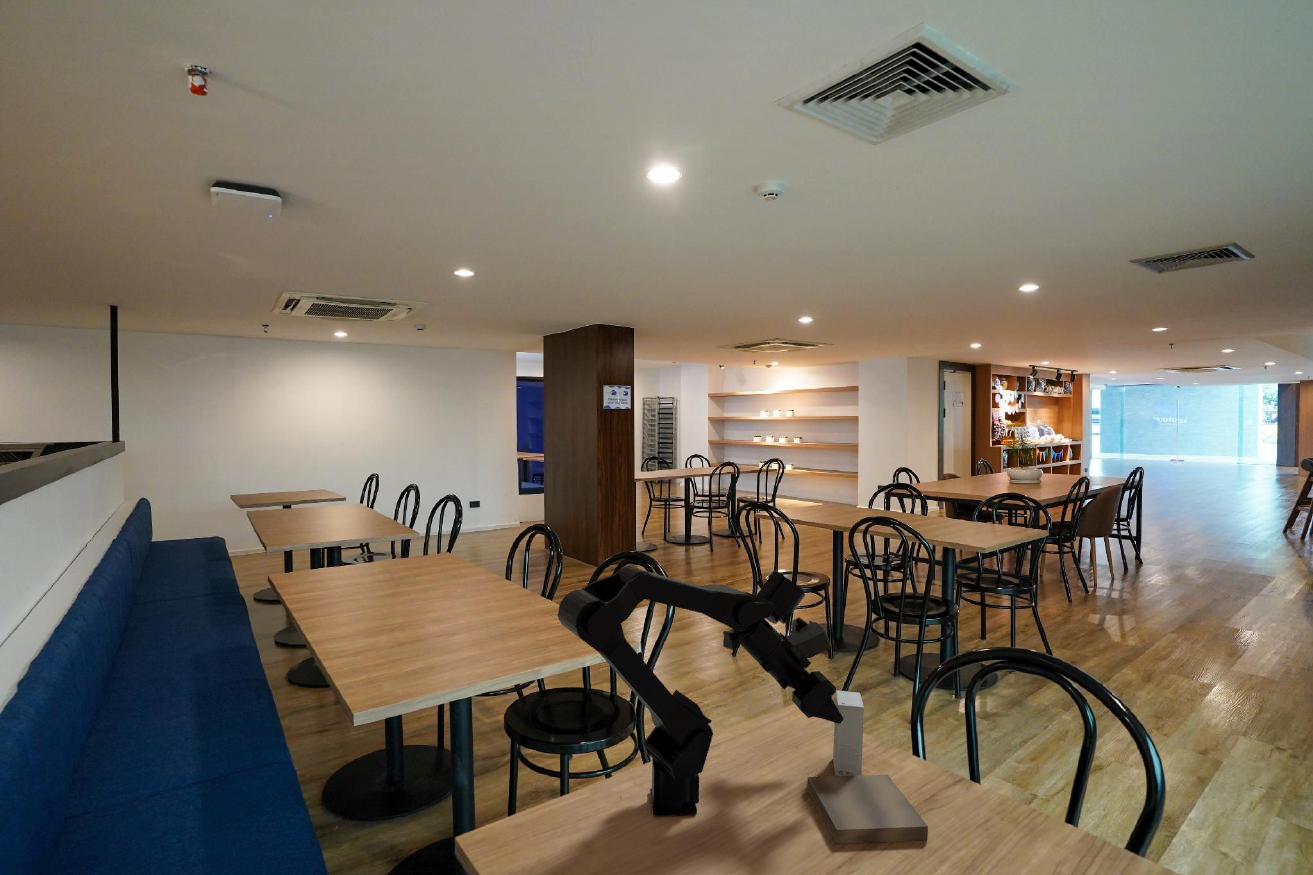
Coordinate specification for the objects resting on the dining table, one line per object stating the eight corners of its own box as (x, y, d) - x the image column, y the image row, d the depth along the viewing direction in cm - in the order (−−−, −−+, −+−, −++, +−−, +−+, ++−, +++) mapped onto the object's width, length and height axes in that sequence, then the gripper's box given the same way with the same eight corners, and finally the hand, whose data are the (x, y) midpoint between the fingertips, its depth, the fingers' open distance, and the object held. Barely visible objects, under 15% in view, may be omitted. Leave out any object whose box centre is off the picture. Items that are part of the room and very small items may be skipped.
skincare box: (862, 780, 107) (864, 707, 106) (834, 777, 108) (837, 705, 107) (858, 760, 113) (860, 691, 112) (832, 757, 114) (834, 689, 113)
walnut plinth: (836, 843, 91) (837, 829, 91) (807, 789, 104) (807, 776, 104) (927, 840, 92) (928, 826, 92) (887, 786, 105) (887, 774, 105)
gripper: (825, 628, 98) (891, 696, 101) (780, 593, 117) (837, 651, 119) (773, 683, 97) (841, 751, 100) (736, 639, 116) (794, 697, 118)
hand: (828, 708), depth 109 cm, fingers open, 9 cm apart
